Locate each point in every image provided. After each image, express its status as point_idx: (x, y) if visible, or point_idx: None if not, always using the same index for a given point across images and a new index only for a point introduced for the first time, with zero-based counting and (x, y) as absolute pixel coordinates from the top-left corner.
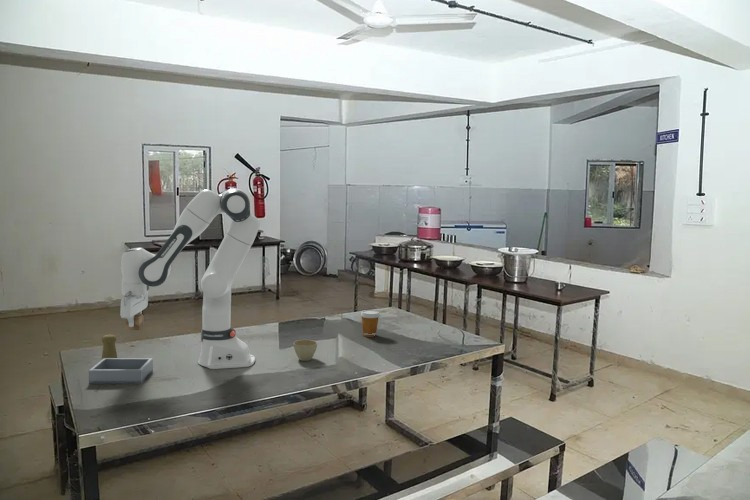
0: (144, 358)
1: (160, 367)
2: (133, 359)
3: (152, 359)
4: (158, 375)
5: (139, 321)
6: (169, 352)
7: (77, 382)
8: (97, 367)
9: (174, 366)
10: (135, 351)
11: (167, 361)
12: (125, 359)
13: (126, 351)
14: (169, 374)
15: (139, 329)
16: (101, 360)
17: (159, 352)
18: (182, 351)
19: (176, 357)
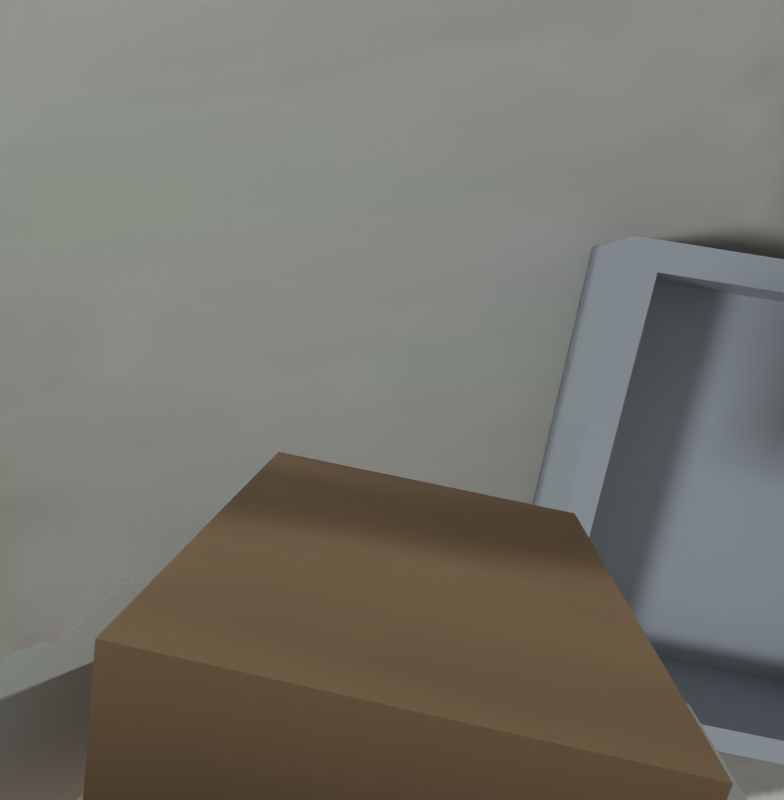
0: (619, 329)
1: (501, 188)
2: (612, 441)
3: (640, 238)
4: (744, 176)
5: (595, 626)
6: (41, 159)
7: (739, 764)
8: (744, 720)
9: (496, 49)
10: (8, 466)
11: (324, 143)
12: (592, 518)
13: (8, 535)
14: (744, 69)
15: (551, 511)
16: None
17: (40, 256)
18: (10, 25)
19: (205, 65)
